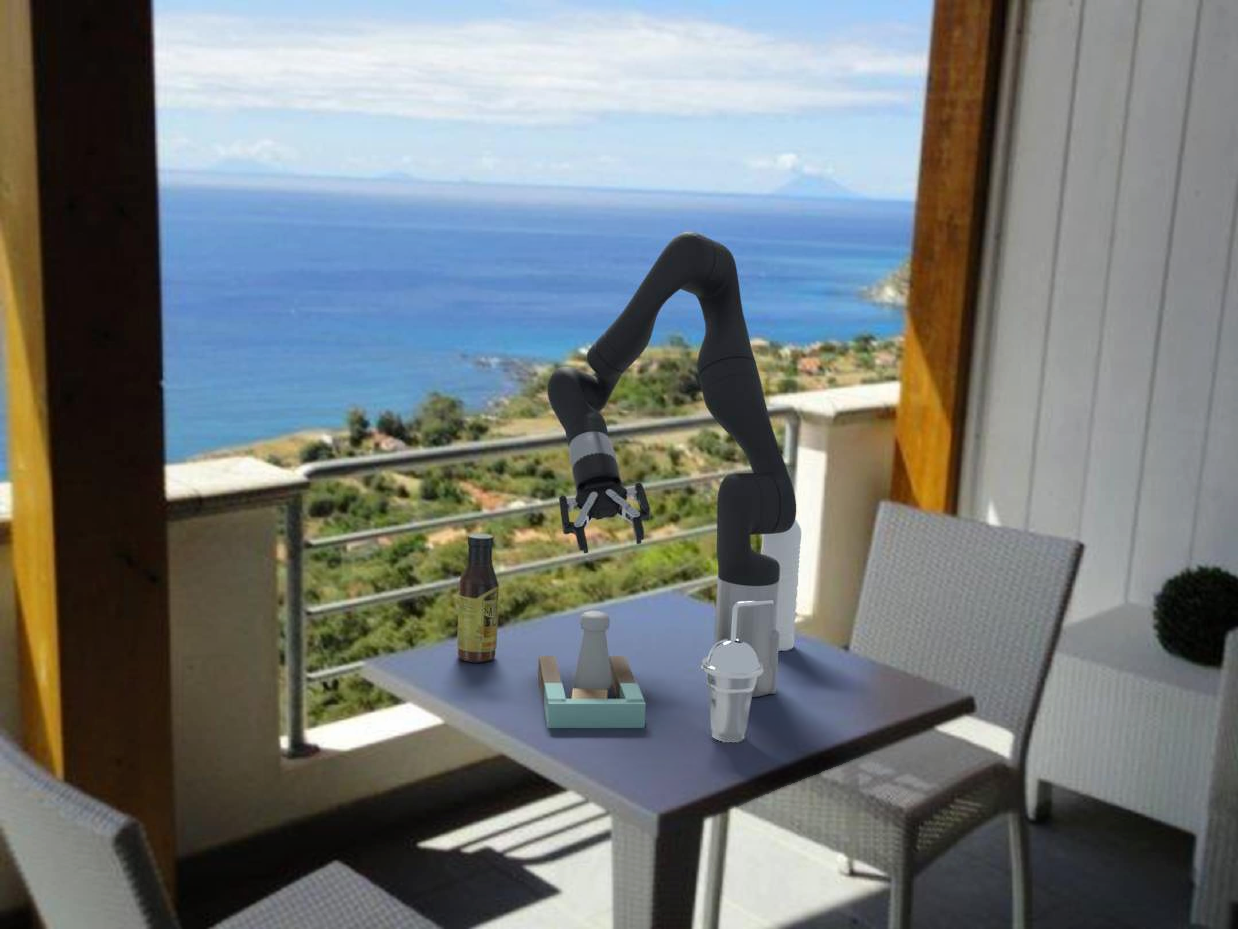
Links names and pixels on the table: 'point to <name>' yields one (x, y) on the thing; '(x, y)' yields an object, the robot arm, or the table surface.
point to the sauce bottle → (478, 603)
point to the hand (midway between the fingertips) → (612, 545)
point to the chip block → (589, 694)
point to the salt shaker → (593, 654)
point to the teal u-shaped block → (594, 709)
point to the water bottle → (785, 579)
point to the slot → (617, 665)
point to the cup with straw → (732, 681)
